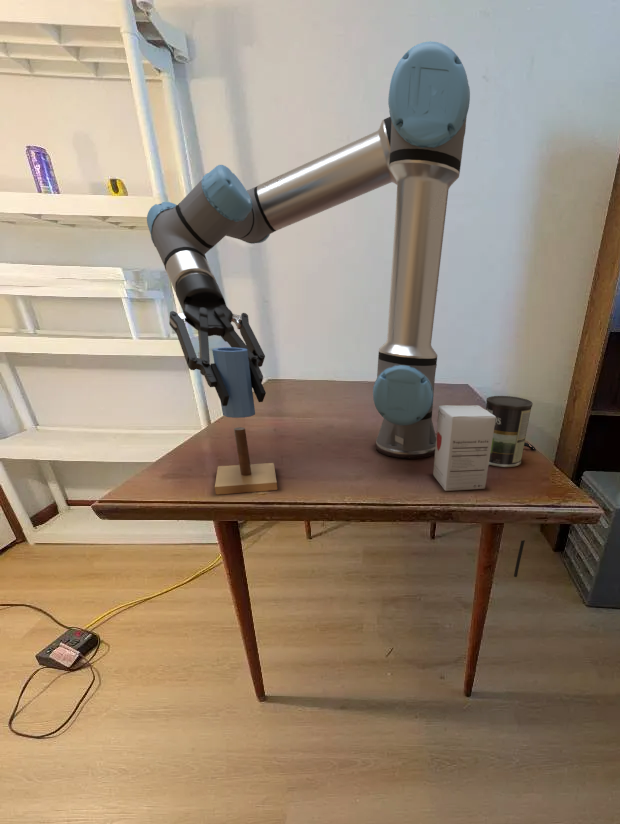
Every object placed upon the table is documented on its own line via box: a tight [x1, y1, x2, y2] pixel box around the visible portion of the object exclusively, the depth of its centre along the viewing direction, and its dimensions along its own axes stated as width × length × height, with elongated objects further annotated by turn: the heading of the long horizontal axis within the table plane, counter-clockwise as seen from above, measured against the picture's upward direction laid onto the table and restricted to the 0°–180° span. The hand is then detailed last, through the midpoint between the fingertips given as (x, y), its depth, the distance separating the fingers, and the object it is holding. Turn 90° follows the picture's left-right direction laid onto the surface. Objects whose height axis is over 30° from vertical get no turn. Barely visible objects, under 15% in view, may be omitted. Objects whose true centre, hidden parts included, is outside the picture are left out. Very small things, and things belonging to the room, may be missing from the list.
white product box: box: [432, 404, 496, 492], centre depth 86 cm, size 9×9×15 cm
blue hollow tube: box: [211, 346, 256, 419], centre depth 76 cm, size 6×6×11 cm
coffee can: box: [485, 395, 534, 468], centre depth 100 cm, size 10×10×14 cm
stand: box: [214, 426, 278, 496], centre depth 82 cm, size 11×11×11 cm
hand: (244, 399), depth 75 cm, fingers closed on blue hollow tube, 6 cm apart
